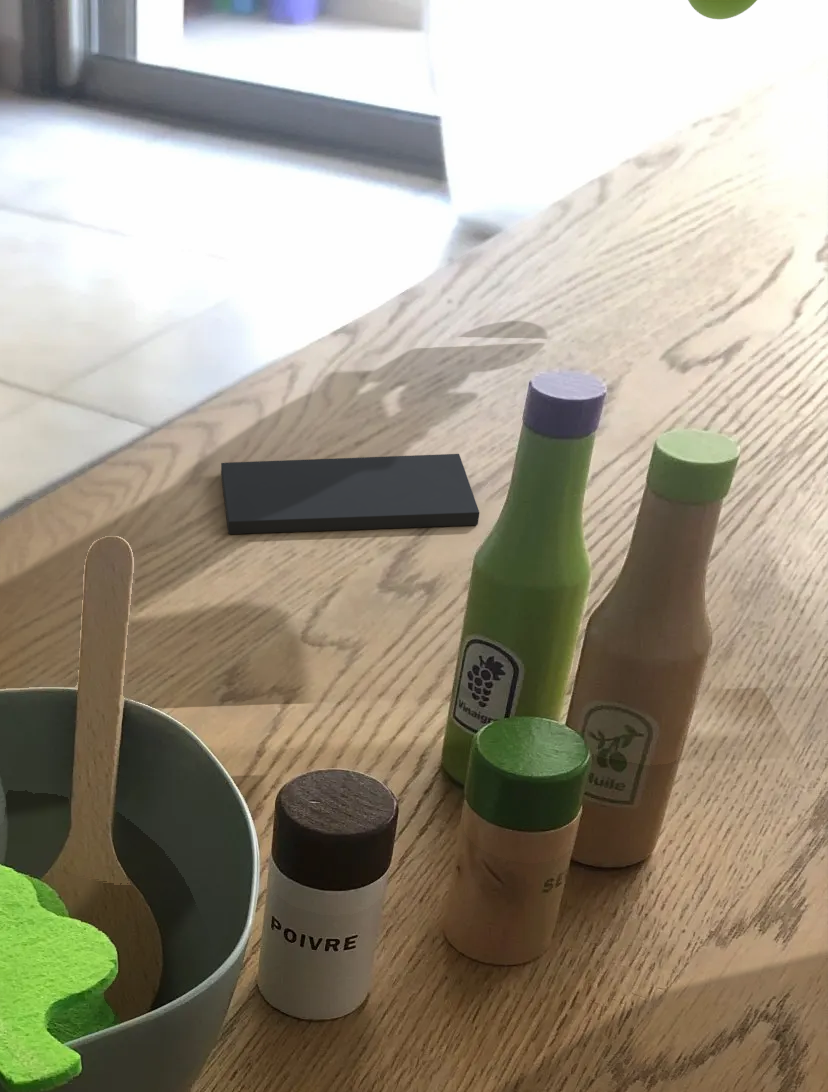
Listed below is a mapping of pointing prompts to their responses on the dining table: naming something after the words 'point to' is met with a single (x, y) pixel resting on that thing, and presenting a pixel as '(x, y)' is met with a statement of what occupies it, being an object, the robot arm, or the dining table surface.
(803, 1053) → the dining table surface
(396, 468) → the mat
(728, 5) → the snail figurine
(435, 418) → the dining table surface
